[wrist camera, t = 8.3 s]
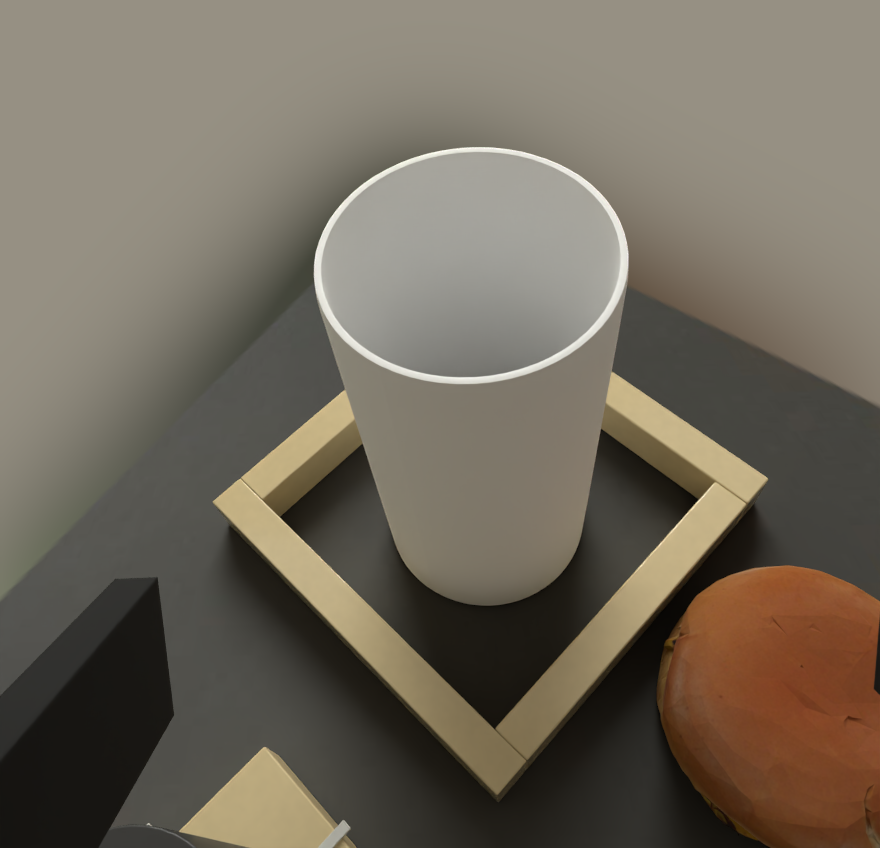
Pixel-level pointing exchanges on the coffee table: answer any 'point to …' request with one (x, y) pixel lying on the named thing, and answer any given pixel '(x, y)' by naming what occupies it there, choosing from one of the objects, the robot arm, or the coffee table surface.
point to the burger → (779, 706)
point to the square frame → (587, 657)
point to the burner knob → (157, 838)
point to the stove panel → (268, 811)
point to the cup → (477, 358)
